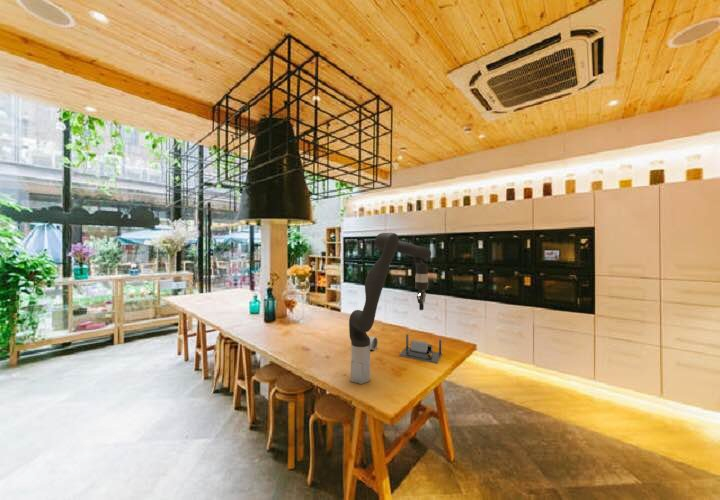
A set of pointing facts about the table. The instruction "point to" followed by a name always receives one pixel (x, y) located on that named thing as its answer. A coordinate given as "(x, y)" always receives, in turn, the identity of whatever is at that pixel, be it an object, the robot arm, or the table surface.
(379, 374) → the table surface
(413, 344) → the grey rectangular block
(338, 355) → the table surface
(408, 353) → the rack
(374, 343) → the ceramic mug
